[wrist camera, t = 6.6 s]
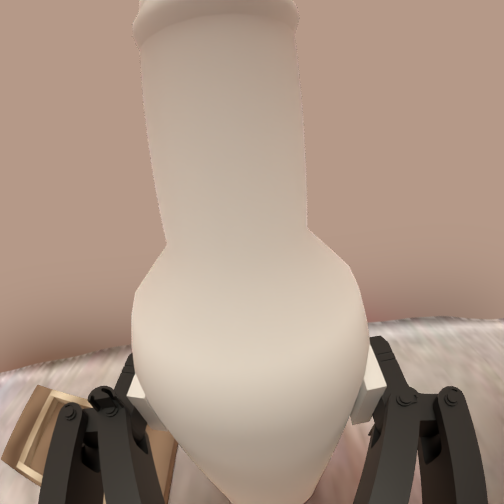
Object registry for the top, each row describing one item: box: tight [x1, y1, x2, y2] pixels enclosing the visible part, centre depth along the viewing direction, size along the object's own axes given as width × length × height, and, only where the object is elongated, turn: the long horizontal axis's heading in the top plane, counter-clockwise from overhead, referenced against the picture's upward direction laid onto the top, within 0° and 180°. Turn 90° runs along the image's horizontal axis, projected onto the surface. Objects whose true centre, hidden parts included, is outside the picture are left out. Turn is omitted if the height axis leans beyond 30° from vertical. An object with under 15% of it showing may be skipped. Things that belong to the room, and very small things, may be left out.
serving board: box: [1, 385, 178, 504], centre depth 18 cm, size 22×14×2 cm, turn 89°
